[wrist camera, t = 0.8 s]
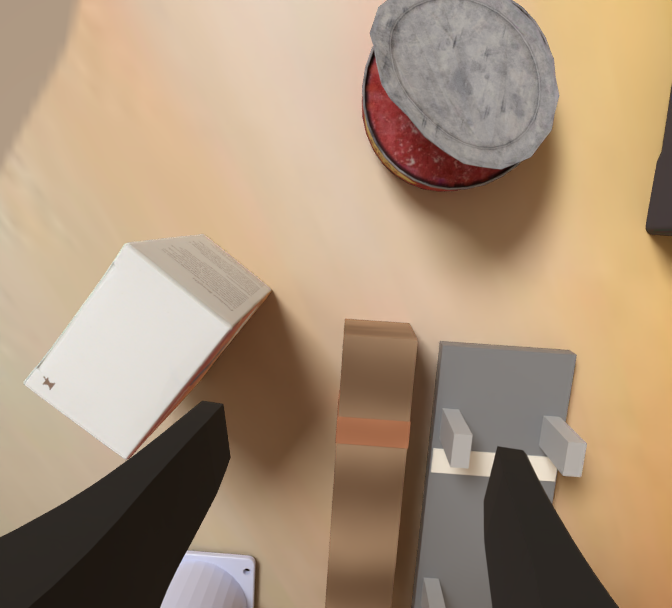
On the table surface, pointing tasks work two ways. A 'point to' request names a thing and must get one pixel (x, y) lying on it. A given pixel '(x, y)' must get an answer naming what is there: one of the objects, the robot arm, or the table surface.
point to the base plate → (486, 456)
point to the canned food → (457, 90)
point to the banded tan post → (370, 462)
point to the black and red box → (662, 186)
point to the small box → (146, 337)
